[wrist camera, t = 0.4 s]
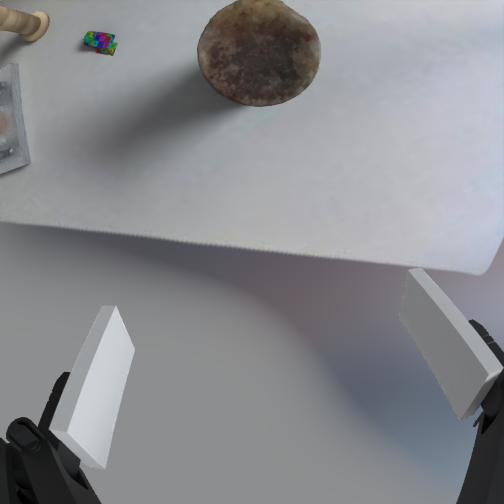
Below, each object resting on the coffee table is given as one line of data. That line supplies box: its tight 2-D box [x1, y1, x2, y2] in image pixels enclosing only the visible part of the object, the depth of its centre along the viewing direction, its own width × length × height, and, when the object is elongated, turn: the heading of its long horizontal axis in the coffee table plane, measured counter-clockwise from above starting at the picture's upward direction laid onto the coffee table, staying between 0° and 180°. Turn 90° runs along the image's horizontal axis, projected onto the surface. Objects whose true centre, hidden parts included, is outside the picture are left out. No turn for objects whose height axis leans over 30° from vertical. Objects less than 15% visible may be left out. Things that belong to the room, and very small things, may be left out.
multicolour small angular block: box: [84, 31, 118, 56], centre depth 28 cm, size 4×3×2 cm
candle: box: [197, 0, 321, 107], centre depth 23 cm, size 8×7×20 cm
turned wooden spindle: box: [0, 6, 49, 41], centre depth 18 cm, size 4×4×17 cm
